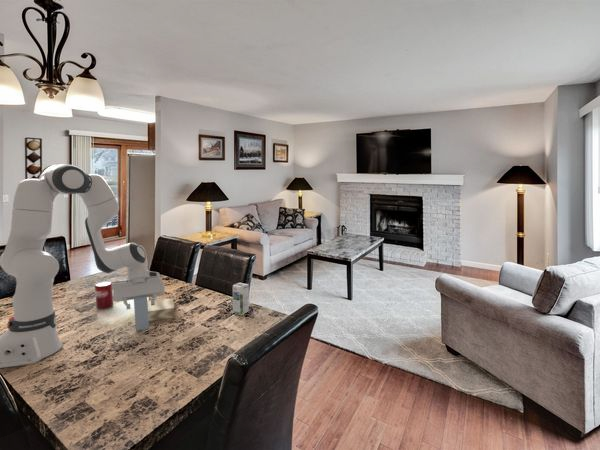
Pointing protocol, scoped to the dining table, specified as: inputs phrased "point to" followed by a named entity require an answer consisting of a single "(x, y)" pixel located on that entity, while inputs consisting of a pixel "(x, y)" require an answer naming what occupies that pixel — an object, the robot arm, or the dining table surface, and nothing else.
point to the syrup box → (240, 298)
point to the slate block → (141, 313)
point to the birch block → (161, 309)
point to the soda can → (103, 295)
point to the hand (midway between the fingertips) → (140, 306)
